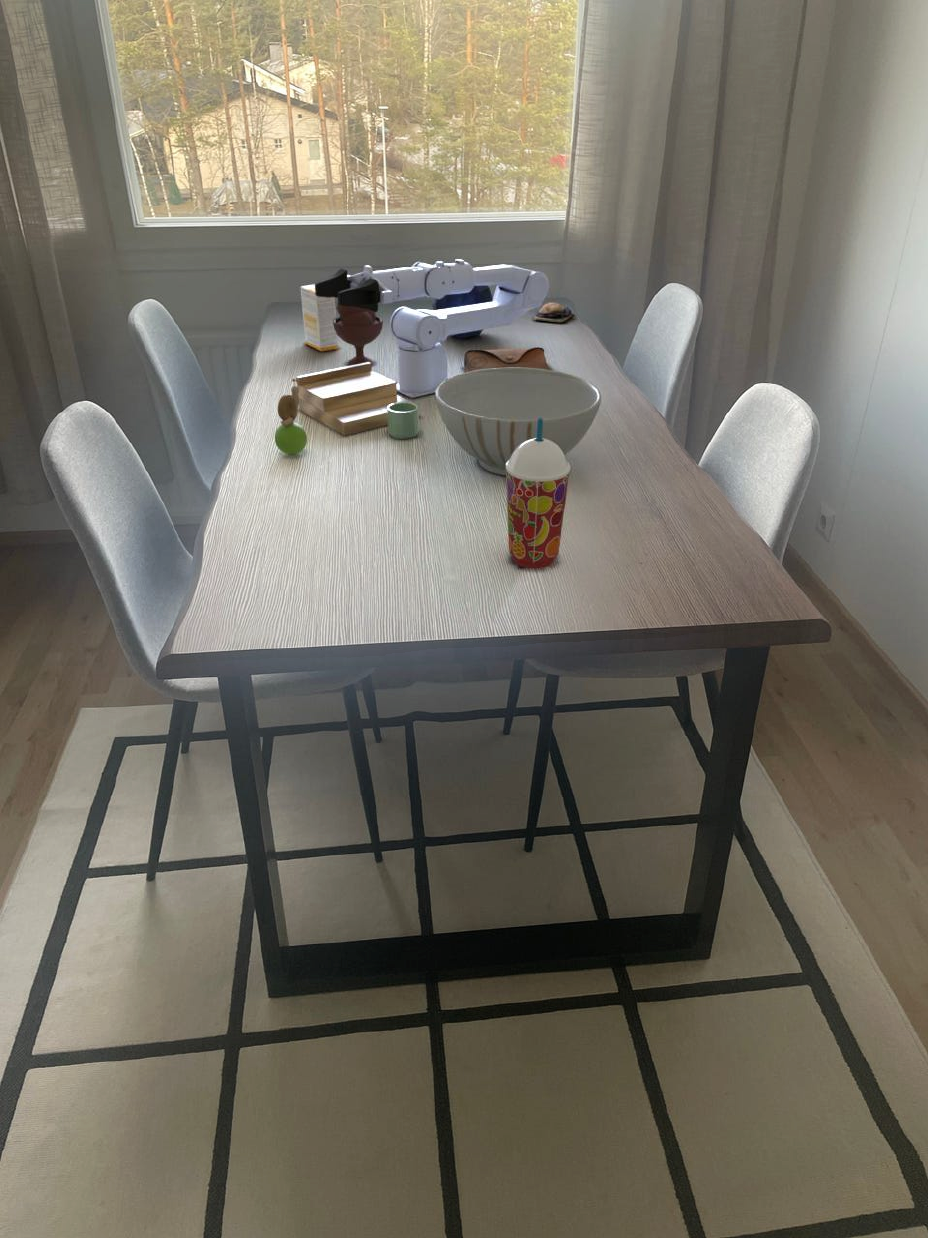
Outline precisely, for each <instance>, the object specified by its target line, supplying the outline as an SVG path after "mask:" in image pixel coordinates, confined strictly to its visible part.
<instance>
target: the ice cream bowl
mask: <svg viewBox="0 0 928 1238" xmlns="http://www.w3.org/2000/svg"><path fill="white" fill-rule="evenodd" d="M335 309H336V310H337V313H338V315H339V316H336V318H334V319H333V326H334V329H335V331H336V333H337V337H338V338H340V340H342V341H343V342H345V343H347V344H349V345H352V346H354V349H355V355H354V357H352V358H350V359H349V360H348V362H347V366H351V365H356V364H361V363H366V362H370V363H371V366H373V360H372V359H370V358H369V357H368V356H366V355H365V353H364V348H365V346H366V345H368V344H371V343H372V342H373V341H375V340H377V338H378V337H379V336H380V334H381V332H382V329H383V324H384V318H383V317H382V316H379V315H376V313H377V312H373V311H371V310H368V309H364V308H359V307H348V306H341V305H338V304H337V305H336V306H335Z"/></svg>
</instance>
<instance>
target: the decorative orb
mask: <svg viewBox="0 0 928 1238" xmlns="http://www.w3.org/2000/svg"><path fill="white" fill-rule="evenodd" d="M493 297H494V296H493V295H492V291H491V288H490V287H489V285H482V286H474V287H473V289H472V290H471V291H470V292H468V293H460V294H449V295H445V296H444V297H443V298H441V299H437V298H433V301H432V304H431V306H432V310H441V309H448V308H455V307H461V306H468V305H475V304H481V303H488V302H493ZM484 330H485V329H483V330H477V331H471V332H465V333H460V334H454V335H452V336H453V337H456V338H460V339H463V340H464V339H467V338H471V337H474V336H477V335H480V334H481V333H482V332H483V331H484Z"/></svg>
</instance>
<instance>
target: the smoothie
mask: <svg viewBox="0 0 928 1238" xmlns="http://www.w3.org/2000/svg"><path fill="white" fill-rule="evenodd" d="M542 428H543V419H542V418H538V424H537V438H533V439H529V440H526V441H525V442H523V443H521V444H520V445H519V446H518V447H517V448H516V449H515V450H514V452H513V454H512V456H511V457H510V459H509V460H508V461H507V463H506V465H505V466H506V475H505V476H506V477H505V478H506V479H505V480H506V507H507V508H506V509H507V511H506V512H507V535H508V537H507V538H508V540H507V541H508V542H507V543H508V552H509V554H510V555H511V557H512V561H513V562H514V564H516V565H518V566H519V567H522V568H526V569H532V570H533V569H534V570H535V569H544V568H547V567H549V566H552V564H553V563H554V561H555V558H556V557H558V556H559V552H560V544H561V539H562V531H563V523H564V515H565V508H566V500H567V494H568V486H569V479H570V472H571V469H572V467H571V464H570V463H569V462H568V461H567V457H566V455H564V453H563V451H562V450H561V448H560V447H559V446H558V445H557V444H555V443H554V442H552V441H550V440H548V439H544V438H542Z"/></svg>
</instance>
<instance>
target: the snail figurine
mask: <svg viewBox="0 0 928 1238" xmlns="http://www.w3.org/2000/svg"><path fill="white" fill-rule="evenodd" d="M291 381H292V382H293V383H295V382H296V385H293V386H291V390H290V392H291V394H290V393H286V394H283V395H282V396H281V397H280V399H279V400H278V404H277V414H278V417H279V419H281V421H280V425H279V426H278V427H277V429H276V430H275V433H274V443H275V445H276V447H277V448H278V450H280V452H281V453H283V454H286V455H297V454H299V453H301V452H302V451H303V450H304V449H305V447H306V445H307V442H308V435H307V432H306V430H305V428H304V427H303V426H302V425H300V424H299V423H297V422H294V421H295V420H296V418H297V417H298V414H299V396H298V393H299V388H298V382H299V380H298V379H296V378H292V379H291Z"/></svg>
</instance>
